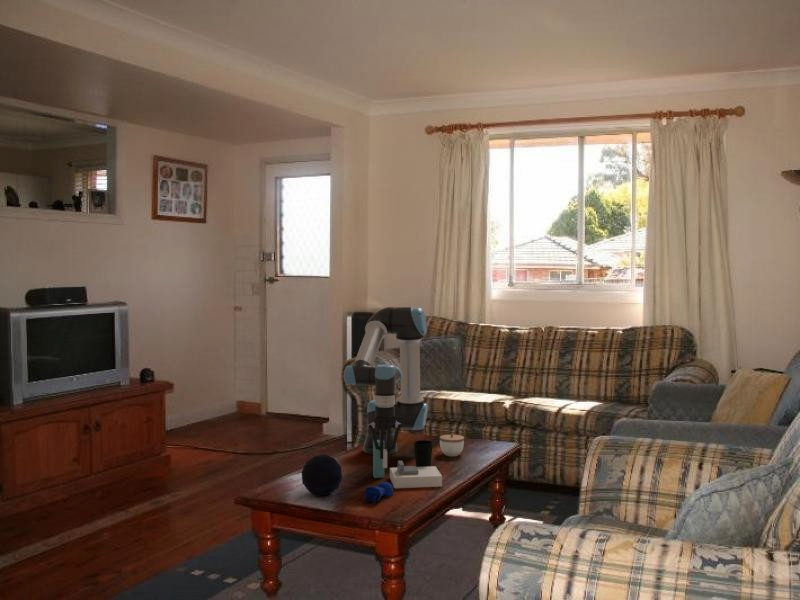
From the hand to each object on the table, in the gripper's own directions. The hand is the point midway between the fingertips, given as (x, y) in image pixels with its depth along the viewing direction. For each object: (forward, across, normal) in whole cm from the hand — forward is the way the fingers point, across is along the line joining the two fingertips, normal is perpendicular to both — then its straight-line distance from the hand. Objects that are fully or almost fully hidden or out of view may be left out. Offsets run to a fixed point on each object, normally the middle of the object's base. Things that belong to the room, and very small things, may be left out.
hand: (384, 467), depth 299 cm
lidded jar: (+6, +34, +40) cm, 53 cm away
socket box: (+6, +12, 0) cm, 13 cm away
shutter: (+2, +9, 0) cm, 9 cm away
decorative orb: (+6, -24, -11) cm, 27 cm away
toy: (+7, -4, -18) cm, 20 cm away
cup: (+6, +17, +14) cm, 23 cm away
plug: (+6, -1, +10) cm, 12 cm away
